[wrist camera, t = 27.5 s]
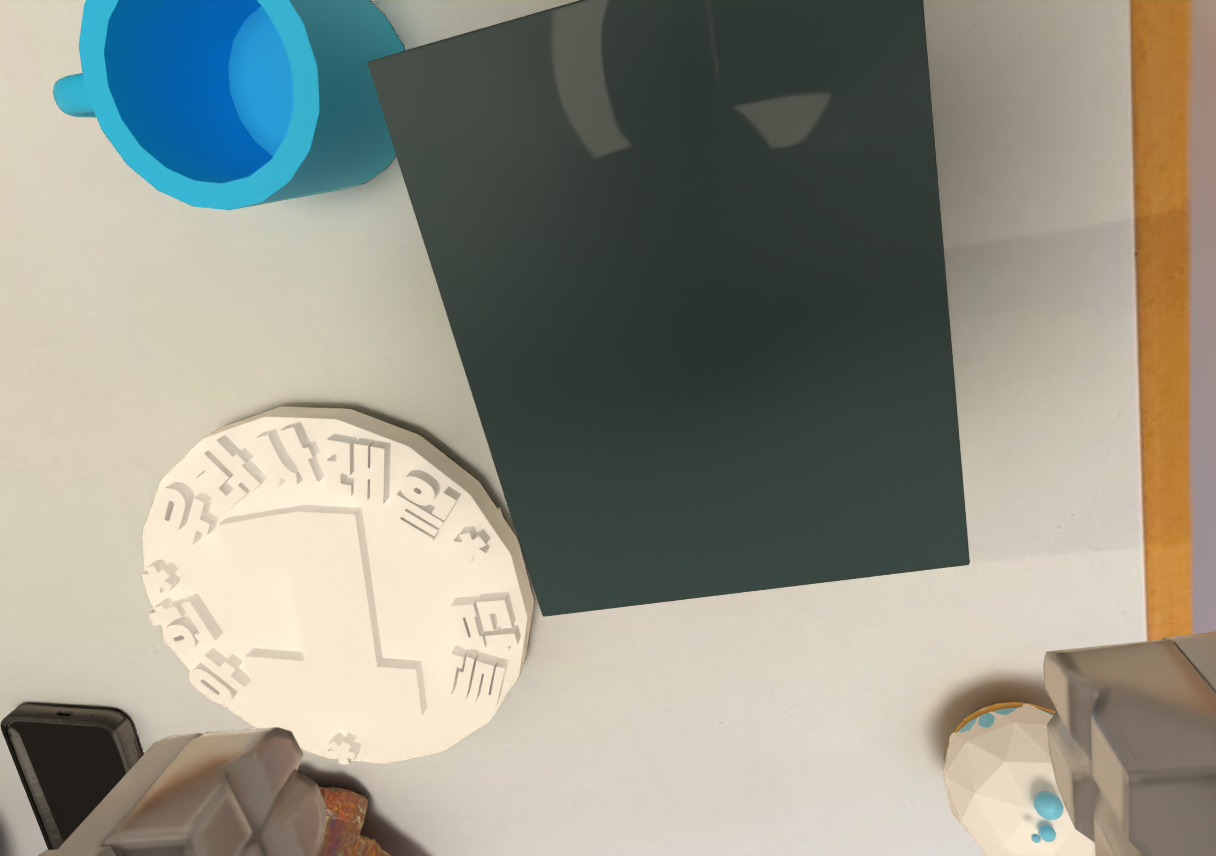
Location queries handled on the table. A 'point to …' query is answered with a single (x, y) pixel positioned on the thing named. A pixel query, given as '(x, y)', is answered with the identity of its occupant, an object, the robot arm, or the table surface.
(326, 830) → the mineral specimen
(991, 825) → the ornament
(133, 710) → the table surface
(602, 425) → the lid
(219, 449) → the giant coin
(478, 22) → the table surface
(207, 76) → the mug
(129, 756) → the phone
